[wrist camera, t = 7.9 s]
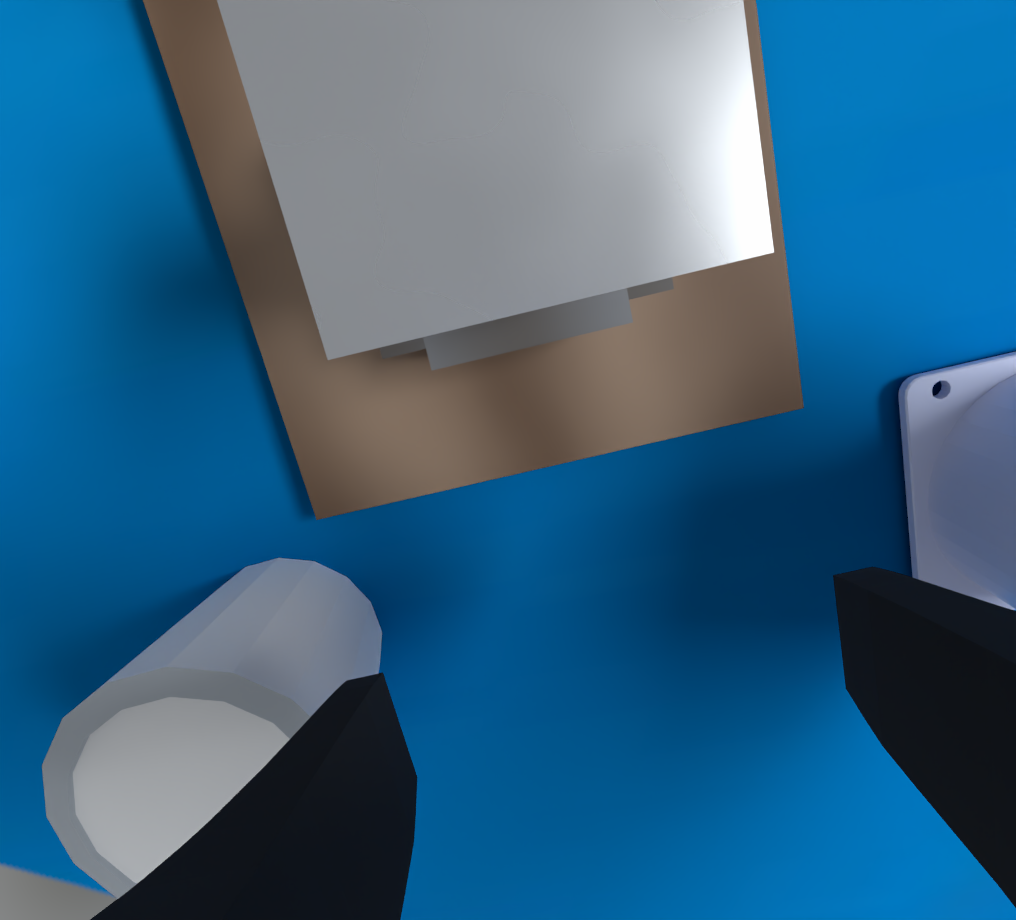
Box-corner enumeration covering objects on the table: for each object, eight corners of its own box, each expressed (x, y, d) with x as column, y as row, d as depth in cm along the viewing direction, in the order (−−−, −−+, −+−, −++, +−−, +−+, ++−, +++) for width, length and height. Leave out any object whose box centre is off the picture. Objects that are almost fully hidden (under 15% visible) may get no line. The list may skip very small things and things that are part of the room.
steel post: (579, 41, 12) (712, -346, 5) (620, 268, 13) (784, 259, 6) (363, 98, 13) (148, -184, 5) (422, 316, 14) (322, 371, 6)
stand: (697, -331, 15) (993, -1232, 6) (788, 401, 19) (1033, 508, 10) (105, -161, 16) (-421, -743, 7) (325, 507, 20) (187, 693, 11)
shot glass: (330, 501, 20) (244, 616, 13) (441, 678, 22) (414, 860, 15) (141, 598, 21) (-32, 753, 14) (262, 762, 22) (160, 970, 16)
